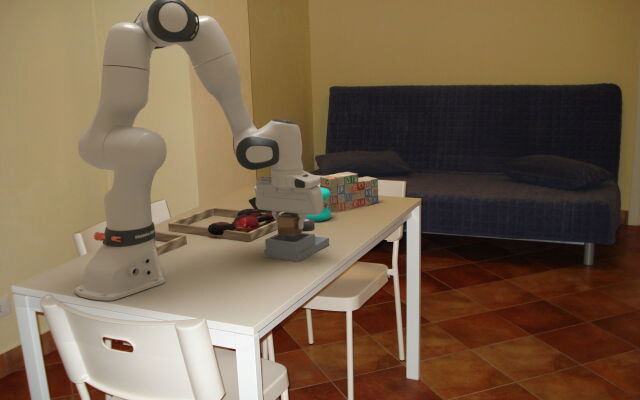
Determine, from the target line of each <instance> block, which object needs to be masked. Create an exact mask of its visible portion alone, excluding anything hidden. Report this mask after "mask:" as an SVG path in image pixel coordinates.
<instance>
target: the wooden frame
mask: <svg viewBox="0 0 640 400" xmlns="http://www.w3.org/2000/svg"><path fill="white" fill-rule="evenodd" d="M187 238H188V237H187V235H183V234H177V233H176V234H175V233H170V232H162V231H156V230H155V237H154V240H155V241H158V242H163V243H160V244H158V245H156V249H157V253H158V256H160V255H163V254H165V253H167V252H170V251H172V250H175V249H178V248H179V247H182V246H185V245H187V244H188V240H187Z"/></svg>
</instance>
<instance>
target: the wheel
mask: <svg viewBox="0 0 640 400" xmlns="http://www.w3.org/2000/svg"><path fill="white" fill-rule="evenodd" d="M303 224H304V227H303V232H302V233H307V232H312V231H314V230H315V228H316V227H315V226H316V224H315V222H314V220H313V219H305V220H304V222H303Z"/></svg>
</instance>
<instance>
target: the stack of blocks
mask: <svg viewBox="0 0 640 400" xmlns="http://www.w3.org/2000/svg"><path fill="white" fill-rule="evenodd" d="M319 178H320V184H319V187H321V188H326V189H328V190H329V191H330V197H329V198H328V199H326V200H324V201H323V207H325V208H327V209H329V210H330V212H331V214H332V213H337V211H338V212H342V211H348V210H353V209H356V208H361V207H367V206H370V205H375V204H379V182H378V181H379V179H378V178H376V177H371V176H363V177H362V176H361V177H359V174H358V173H354V172H350V171H344V172H337V173H335V174H327V175H322V176H319ZM347 209H348V210H347Z"/></svg>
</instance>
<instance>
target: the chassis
mask: <svg viewBox="0 0 640 400" xmlns="http://www.w3.org/2000/svg"><path fill="white" fill-rule="evenodd" d="M264 241H265V248H264V249H263V251H264V257H265V258H270V259H277V260H284V261H291V262H301V261H302V260H305V259H306V258H308V257H310V256H312V255H313V254H315V253H317V252H319V251H320V250H323V249H324V248H326V247H328V246H329V245H330V238H329V237H323V236H316V234H314V233H308V232H301V233H299V234H297V235H295V236H286V235H279V234H278V233H277V234H274V235H272V236H270V237H268V238H266V239H265V240H264Z"/></svg>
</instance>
